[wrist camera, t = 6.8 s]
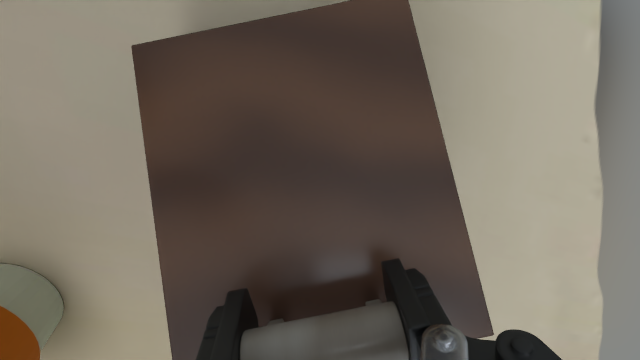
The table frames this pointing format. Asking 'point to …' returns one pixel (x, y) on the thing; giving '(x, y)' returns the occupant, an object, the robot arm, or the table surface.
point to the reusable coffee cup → (26, 312)
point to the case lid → (302, 181)
